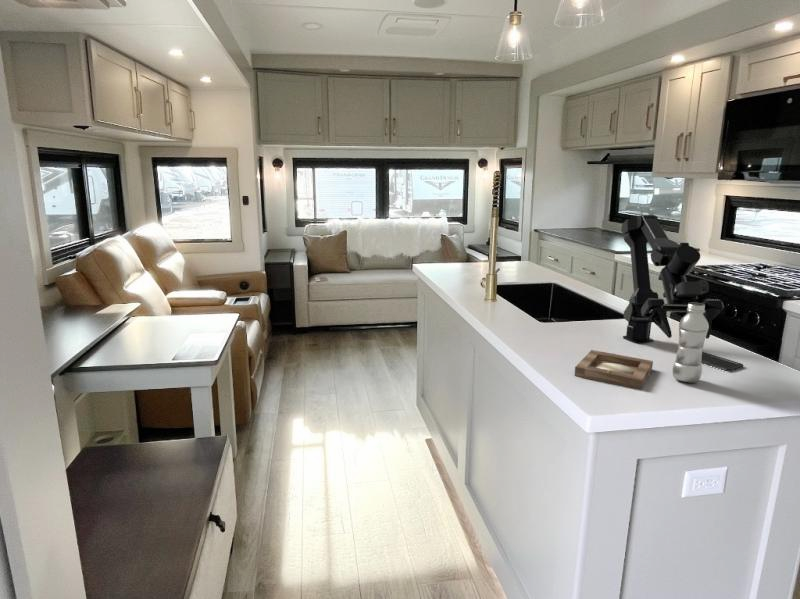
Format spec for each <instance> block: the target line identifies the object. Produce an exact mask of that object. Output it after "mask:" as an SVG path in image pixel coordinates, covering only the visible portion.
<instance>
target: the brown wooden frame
mask: <svg viewBox="0 0 800 599" xmlns="http://www.w3.org/2000/svg"><path fill="white" fill-rule="evenodd" d="M653 365H654V360H650V359H644V358H638V357H632V356H628V355H621V354H617V353H610V352H606V351H599V350H595V349H591V350H590V351H589V352H588V353H587V354H586V355H585V356H584V357H583V358H582V359H581V361H579V363H578V364H577V365H575V367H574V377H579V378H584V379H588V380H594V381H599V382H603V383H608V384H613V385H618V386H623V387H627V388H632V389H635V390H636V389H638V390H642V388H643V386H644V384H645V382H646V381H647V379H648V378H649V376H650V374H651V373H652V371H653Z"/></svg>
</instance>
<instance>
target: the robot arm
mask: <svg viewBox="0 0 800 599" xmlns="http://www.w3.org/2000/svg"><path fill="white" fill-rule="evenodd" d="M660 224H661V223H659V218H658V216H657V215H655V214H641V215H638V216H637V217H633V218H628V219H626V220H625V221H623V222H622V224H621V227H620V228H621V233H622V236H623V240H624V242H625V244H627V246H628V247H629V248H630V250H629V251H630V262H631V272H632V273H631V274H632V283H633V293H632V294H631V296H630V298H629V299H628V300H629V301H628V304H627V306H626V307H625V309H624V311H623V319H624V320H625V321H627V326H626V334H625V335H622V339H626V340H627V341H630V342H633V343H635V344H643V343H649V342H654V339H653V338H651V330H652V329H651V328H652V323H653V324H655V325H656V326H657V327H658V328H659V329H660V330H661V331H662V333H663V334H664V335H665V336H666V337H667V338H669V339H671V338H672V330H671V326H670V323H669V318H668V312H673V313H674V312H675V313H688V311H687V308H688V303H691V302H696V301H697V300H698V296H702V295H703V294H706V293H708V292H709V290H710V288H709V286H710V285H709V282H708V281H707V279H698V280H697V281H687V277H686V276H687V275H689V274H690V273H691V272H692V270H693V269H694V267H695V266H696V265H697V263H698V262H699V261H700V259H701V253H700V251H698V250H697V249H696V248H695V247H693V246H690V243H689V242H679V243H678V242H677V241H674V240H671V239H670V238H668V235H667V234H666V232H665V231H664V229H663V228H662V226H661V225H660ZM648 244H649V246H650V247H651V251H650V252H651V253H650V260H651V262H652V264H653V265H654V267H663V268H662V269H661V270H660V272H659V275H658V281H661V284H662V288H663V290H664V292H663V293H662V296H663V298H665V299H666V302H667V303H665V299H663V298H660V297H659V294H658V292H656V291H655V292H654V290H652V288H651V287H652V286H651V280H650V279H651V276H650V268H649V258H648V247H647V245H648ZM701 303H702V304H704V305H705V309H704V310H705V312H704V313H703V315H704V317H705V318H706V320H707V322H708V325H709V328H708V332H707V335H706V338H705V340H706V339H710V336H711V331H712V321H713V319H715V318H717V317H718V316H719V314H720V313H721V312H722V311H723V310H724V309H725V306H724V303H723V301H722V300H721V299H720V298H719V299H718V298H717V299H716V298H715V299H713V298H711V299H710V298H705V299H704V300H703V301H702V302H701Z"/></svg>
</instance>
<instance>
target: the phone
mask: <svg viewBox="0 0 800 599" xmlns="http://www.w3.org/2000/svg"><path fill="white" fill-rule="evenodd" d="M703 364H706V365H708V366H707V367H709V366H712V367H711V368H713V367H715V368H714V369H716V368H718V369H717V370H719V369H721V370H720V371H722V370H724V371H723V372H725V371H732V372H734V371H733V370H735V369H738V370H740V369H739V368H742V367H743V368H744V364H743V363H741V362H738V361H734V360H731V359H728V358H726V357H725V358H724V357H722V356H721V357H720V356H718V355H714V354H712V353H707V352H704V351H702V364H701V365H703ZM706 365H705V366H706ZM743 368H742V369H743ZM735 371H736V370H735Z"/></svg>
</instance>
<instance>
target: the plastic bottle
mask: <svg viewBox="0 0 800 599" xmlns="http://www.w3.org/2000/svg"><path fill="white" fill-rule="evenodd" d="M704 309H705V305H704V304H702V302H701V303H700V302H695V301H693V302H691V303H688V308H687V311H688V312H686V314H684V315H683V317H681V319H680V321H679V323H678V345H677V348H678V349H677V352H676V356H675V361H674V362H673V365H672V368H671V370H672V376H673V378H674V379H676V380H677V381H679V382H680V381H681V382H684V383H697V382H699V380H700V379H701V377H702V375H703V367H702V366H703V364H701V363H702V352H703V350H704V345H705V340H706V335H707V332H708V328H709V325H708V322H707V320H706V318H705V317H704V315H703V313H704V312H705V310H704Z"/></svg>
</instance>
